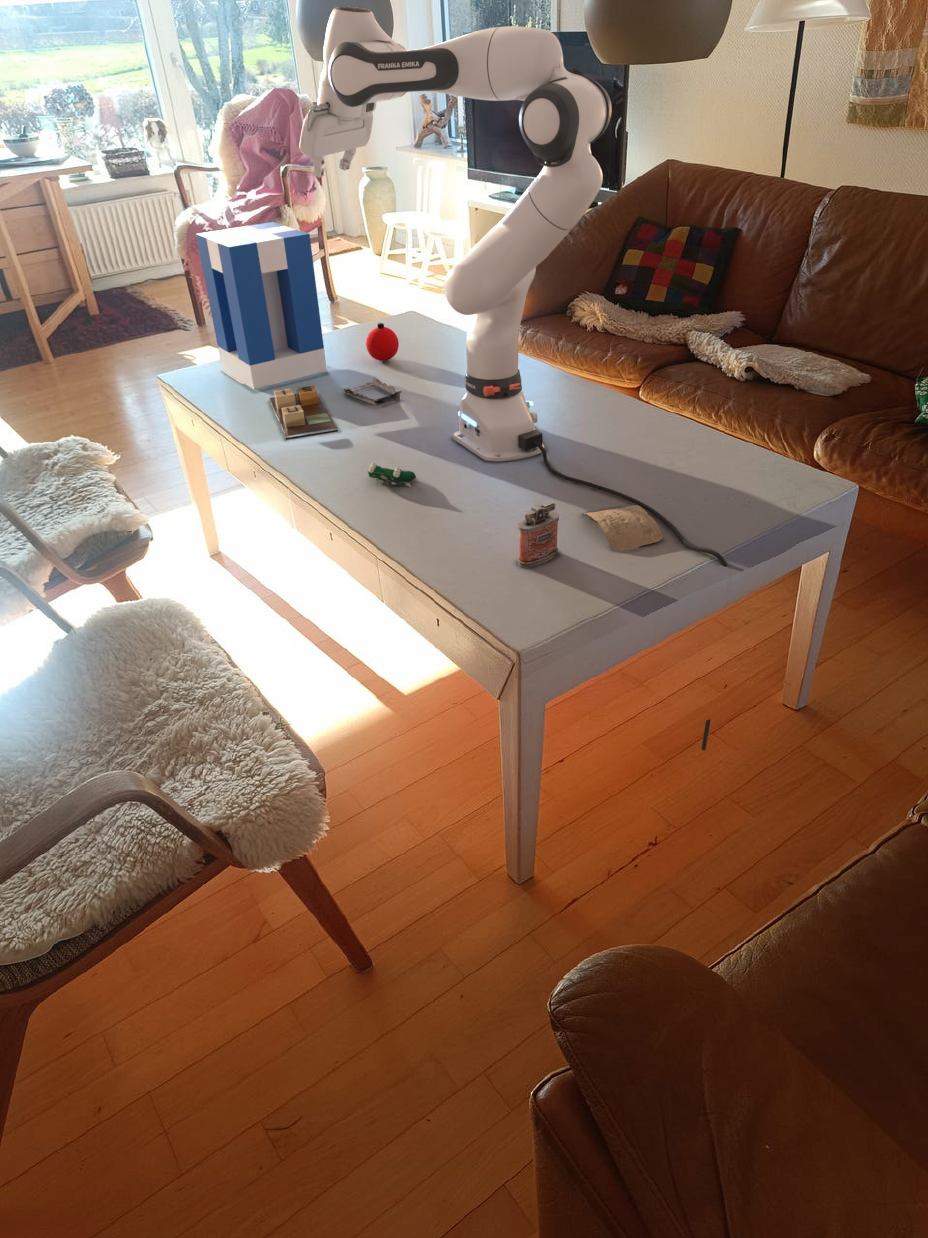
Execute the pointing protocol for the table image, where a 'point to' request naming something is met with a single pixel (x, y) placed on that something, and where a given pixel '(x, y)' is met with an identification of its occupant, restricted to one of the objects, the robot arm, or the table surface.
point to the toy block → (263, 302)
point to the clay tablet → (627, 527)
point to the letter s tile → (307, 395)
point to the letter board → (306, 413)
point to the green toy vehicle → (390, 474)
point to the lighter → (538, 535)
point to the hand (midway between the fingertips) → (331, 172)
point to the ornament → (382, 343)
